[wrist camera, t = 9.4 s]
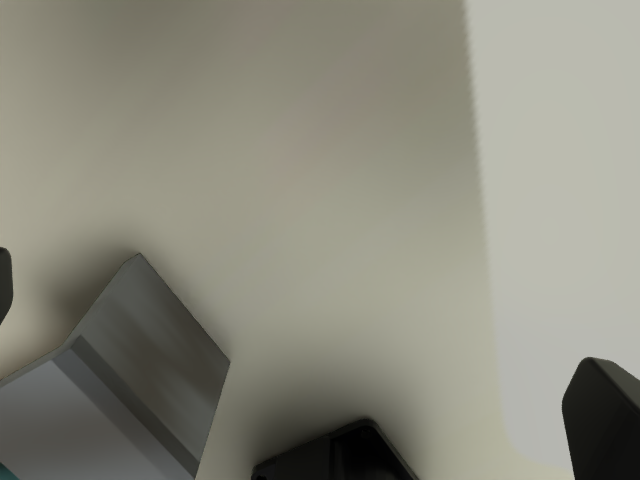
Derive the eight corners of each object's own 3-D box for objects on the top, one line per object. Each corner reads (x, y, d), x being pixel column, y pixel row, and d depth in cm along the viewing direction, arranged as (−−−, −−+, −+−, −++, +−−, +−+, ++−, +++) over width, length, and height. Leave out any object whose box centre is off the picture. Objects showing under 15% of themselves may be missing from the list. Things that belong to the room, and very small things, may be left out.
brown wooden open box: (272, 413, 26) (250, 538, 20) (70, 507, 29) (2, 637, 24) (140, 252, 23) (70, 348, 17) (-71, 378, 26) (-187, 493, 20)
